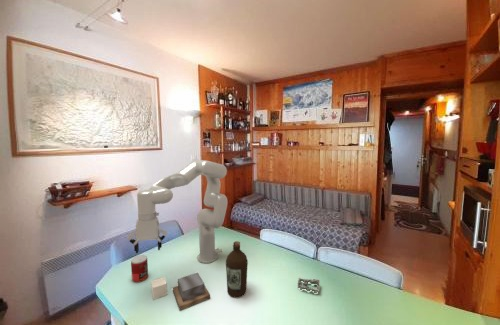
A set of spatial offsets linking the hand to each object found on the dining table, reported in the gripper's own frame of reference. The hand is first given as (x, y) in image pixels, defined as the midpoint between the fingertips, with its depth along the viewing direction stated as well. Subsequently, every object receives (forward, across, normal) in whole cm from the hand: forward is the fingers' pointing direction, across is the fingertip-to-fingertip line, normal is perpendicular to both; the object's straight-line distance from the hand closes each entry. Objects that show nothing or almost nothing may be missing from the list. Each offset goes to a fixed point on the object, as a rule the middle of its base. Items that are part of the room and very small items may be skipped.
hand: (148, 250), depth 102 cm
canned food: (+21, +7, -13) cm, 26 cm away
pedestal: (+21, -19, +9) cm, 30 cm away
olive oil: (+21, -41, +13) cm, 48 cm away
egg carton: (+21, -76, +22) cm, 81 cm away
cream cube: (+21, -4, +3) cm, 22 cm away
